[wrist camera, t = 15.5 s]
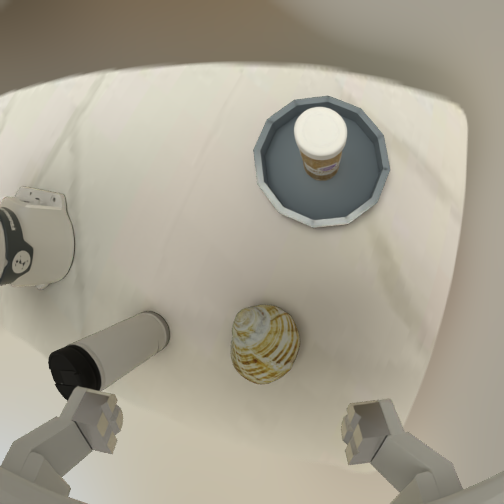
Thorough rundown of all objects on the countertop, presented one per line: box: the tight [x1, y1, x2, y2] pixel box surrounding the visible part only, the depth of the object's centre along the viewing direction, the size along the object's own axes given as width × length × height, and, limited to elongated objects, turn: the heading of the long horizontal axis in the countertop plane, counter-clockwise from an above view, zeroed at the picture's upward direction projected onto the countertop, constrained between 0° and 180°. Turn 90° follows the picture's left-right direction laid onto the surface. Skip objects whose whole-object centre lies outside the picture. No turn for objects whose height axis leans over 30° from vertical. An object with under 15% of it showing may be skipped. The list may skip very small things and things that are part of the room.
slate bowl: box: [253, 96, 390, 228], centre depth 36 cm, size 16×16×4 cm
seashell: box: [231, 305, 300, 384], centre depth 38 cm, size 10×10×10 cm
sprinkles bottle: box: [294, 107, 347, 181], centre depth 31 cm, size 5×5×13 cm
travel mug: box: [48, 311, 169, 401], centre depth 35 cm, size 6×7×20 cm
